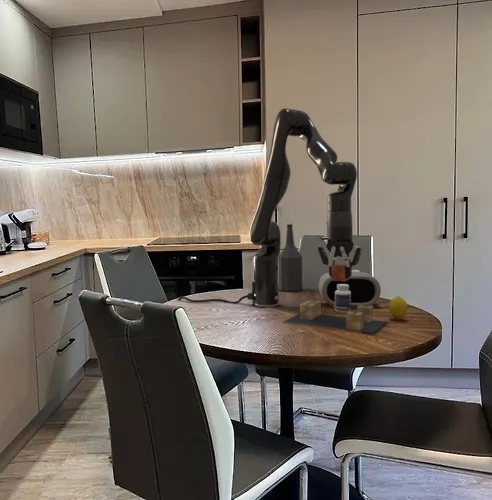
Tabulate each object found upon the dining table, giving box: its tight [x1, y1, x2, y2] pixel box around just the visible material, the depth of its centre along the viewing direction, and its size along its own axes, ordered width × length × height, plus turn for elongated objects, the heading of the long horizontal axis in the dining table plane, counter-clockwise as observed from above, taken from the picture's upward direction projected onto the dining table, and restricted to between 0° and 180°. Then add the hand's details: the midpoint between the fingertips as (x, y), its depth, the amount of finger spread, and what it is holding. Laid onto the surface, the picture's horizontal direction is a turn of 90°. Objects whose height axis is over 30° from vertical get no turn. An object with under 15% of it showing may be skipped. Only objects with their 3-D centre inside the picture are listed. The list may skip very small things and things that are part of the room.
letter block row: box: [345, 305, 374, 332], centre depth 156 cm, size 4×15×5 cm, turn 140°
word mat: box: [284, 313, 388, 335], centre depth 161 cm, size 28×16×1 cm, turn 50°
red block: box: [332, 263, 349, 281], centre depth 157 cm, size 4×4×5 cm
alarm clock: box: [318, 269, 382, 309], centre depth 184 cm, size 21×10×13 cm, turn 76°
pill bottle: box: [334, 284, 352, 314], centre depth 176 cm, size 5×5×10 cm
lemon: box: [388, 296, 409, 321], centre depth 161 cm, size 6×6×8 cm
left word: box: [299, 299, 322, 320], centre depth 169 cm, size 4×9×5 cm, turn 140°
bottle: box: [278, 223, 303, 293], centre depth 219 cm, size 10×10×30 cm
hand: (340, 277), depth 157 cm, fingers closed on red block, 4 cm apart
